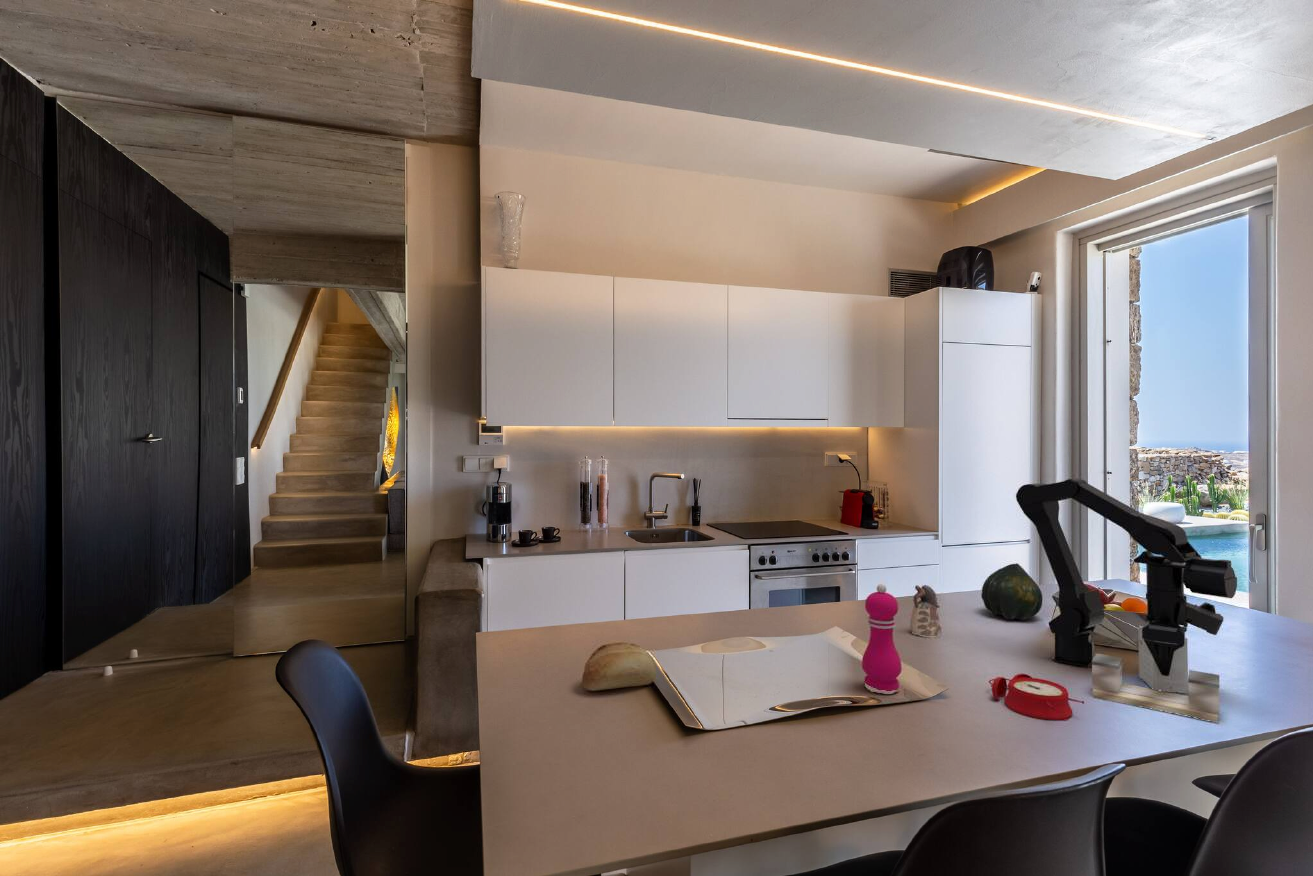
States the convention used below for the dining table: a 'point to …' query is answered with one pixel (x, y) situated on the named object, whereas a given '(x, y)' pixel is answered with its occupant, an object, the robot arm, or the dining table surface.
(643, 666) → the bread roll
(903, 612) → the dining table surface
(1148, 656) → the small box
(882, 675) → the pepper mill
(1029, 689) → the alarm clock
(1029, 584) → the squash
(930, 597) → the figurine
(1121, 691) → the grey metal u-shaped piece
